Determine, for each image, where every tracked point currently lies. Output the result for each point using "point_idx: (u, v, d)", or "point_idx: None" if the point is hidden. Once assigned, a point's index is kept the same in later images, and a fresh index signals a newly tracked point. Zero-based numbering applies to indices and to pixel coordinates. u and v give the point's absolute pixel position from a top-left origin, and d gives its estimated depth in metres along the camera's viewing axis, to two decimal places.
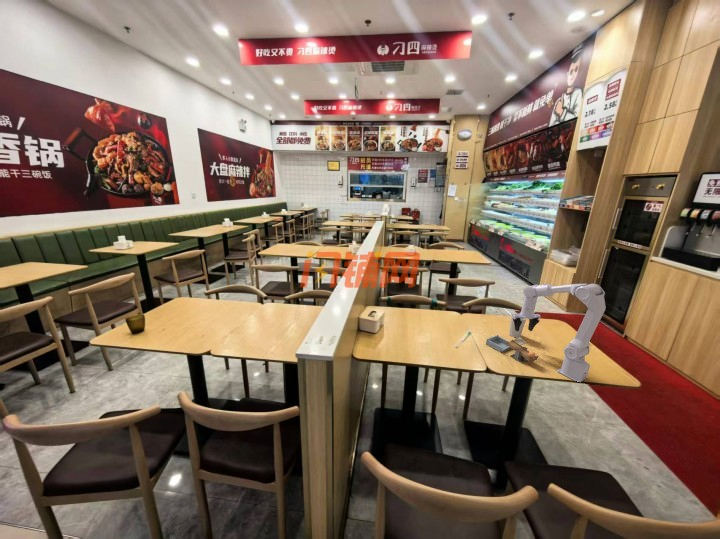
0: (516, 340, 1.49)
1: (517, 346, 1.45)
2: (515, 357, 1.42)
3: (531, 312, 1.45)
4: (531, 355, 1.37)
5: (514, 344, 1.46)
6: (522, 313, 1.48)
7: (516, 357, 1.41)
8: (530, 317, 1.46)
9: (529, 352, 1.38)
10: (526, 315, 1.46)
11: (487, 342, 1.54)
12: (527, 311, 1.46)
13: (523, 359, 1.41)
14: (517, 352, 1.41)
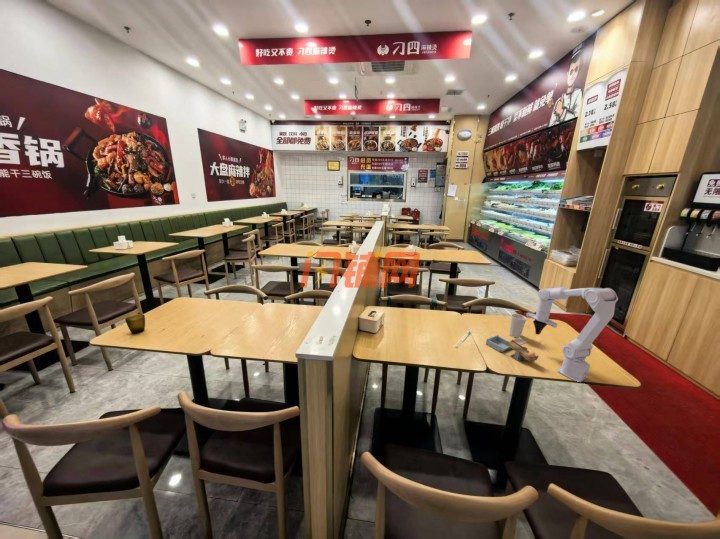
0: (516, 340, 1.49)
1: (517, 346, 1.45)
2: (515, 357, 1.42)
3: (540, 314, 1.44)
4: (531, 355, 1.37)
5: (514, 344, 1.46)
6: None
7: (516, 357, 1.41)
8: (538, 319, 1.45)
9: (529, 352, 1.38)
10: (536, 316, 1.46)
11: (487, 342, 1.54)
12: (537, 312, 1.46)
13: (523, 359, 1.41)
14: (517, 352, 1.41)
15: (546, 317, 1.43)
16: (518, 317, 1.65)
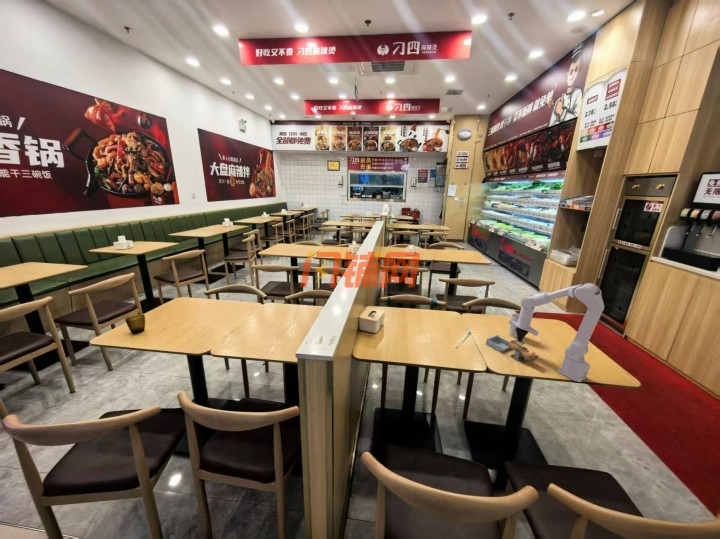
0: (516, 340, 1.49)
1: (517, 346, 1.45)
2: (515, 357, 1.42)
3: (521, 322, 1.45)
4: (531, 354, 1.37)
5: (514, 344, 1.46)
6: None
7: (516, 357, 1.41)
8: (520, 327, 1.46)
9: (529, 352, 1.38)
10: (518, 323, 1.47)
11: (487, 342, 1.54)
12: (519, 319, 1.46)
13: (523, 359, 1.41)
14: (517, 352, 1.41)
15: (527, 325, 1.44)
16: (518, 317, 1.65)
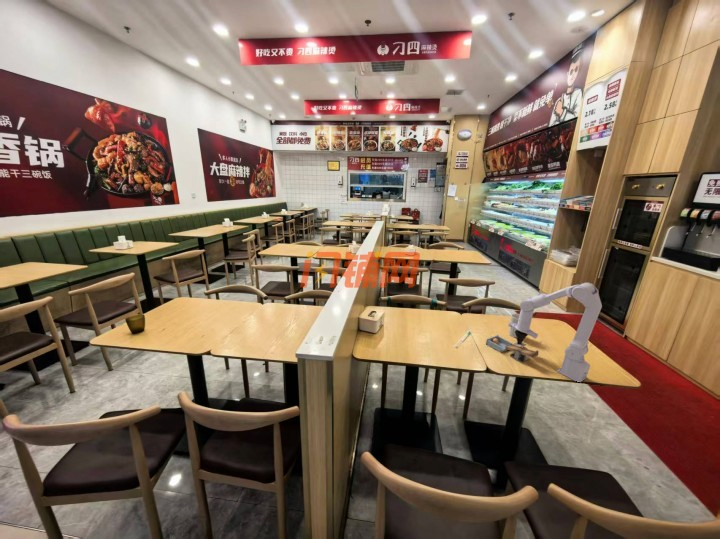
0: (515, 344, 1.50)
1: (516, 348, 1.45)
2: (515, 357, 1.42)
3: (521, 324, 1.45)
4: (494, 340, 1.54)
5: (513, 347, 1.46)
6: None
7: (516, 357, 1.41)
8: (519, 329, 1.46)
9: (492, 340, 1.56)
10: (517, 326, 1.48)
11: (487, 342, 1.54)
12: (518, 322, 1.47)
13: (523, 359, 1.41)
14: (517, 352, 1.41)
15: (527, 327, 1.44)
16: (518, 317, 1.65)
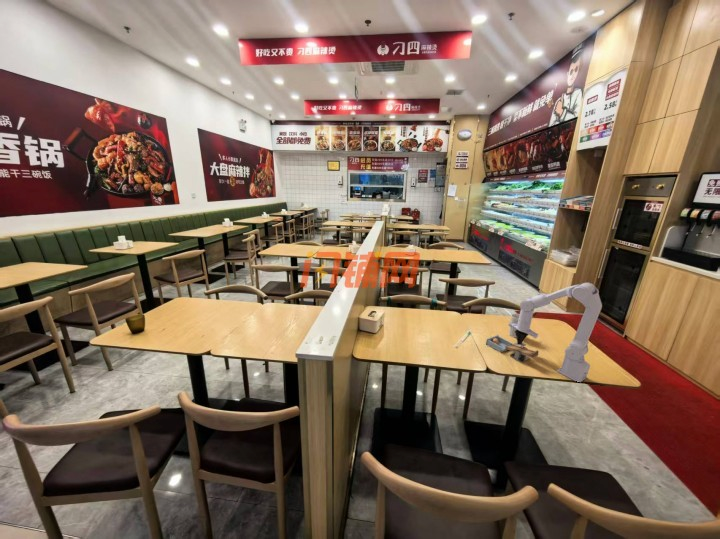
0: (515, 344, 1.50)
1: (516, 348, 1.45)
2: (515, 357, 1.42)
3: (521, 324, 1.45)
4: (494, 341, 1.54)
5: (513, 347, 1.46)
6: None
7: (516, 357, 1.41)
8: (520, 329, 1.46)
9: (492, 340, 1.56)
10: (517, 326, 1.48)
11: (487, 342, 1.54)
12: (518, 322, 1.47)
13: (523, 359, 1.41)
14: (517, 352, 1.41)
15: (527, 327, 1.44)
16: (518, 317, 1.65)
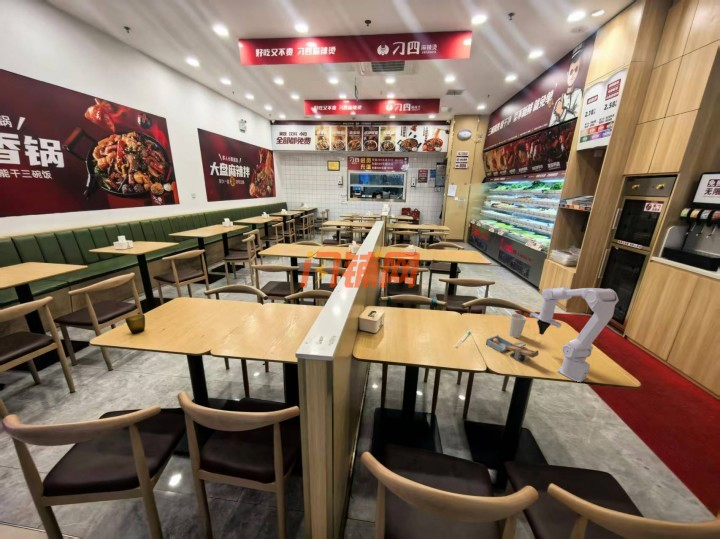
0: (515, 344, 1.50)
1: (516, 348, 1.45)
2: (515, 357, 1.42)
3: (543, 314, 1.44)
4: (494, 341, 1.54)
5: (513, 347, 1.46)
6: None
7: (516, 357, 1.41)
8: (542, 319, 1.45)
9: (492, 340, 1.56)
10: (540, 316, 1.47)
11: (487, 342, 1.54)
12: (541, 312, 1.46)
13: (523, 359, 1.41)
14: (517, 352, 1.41)
15: (550, 317, 1.43)
16: (518, 317, 1.65)
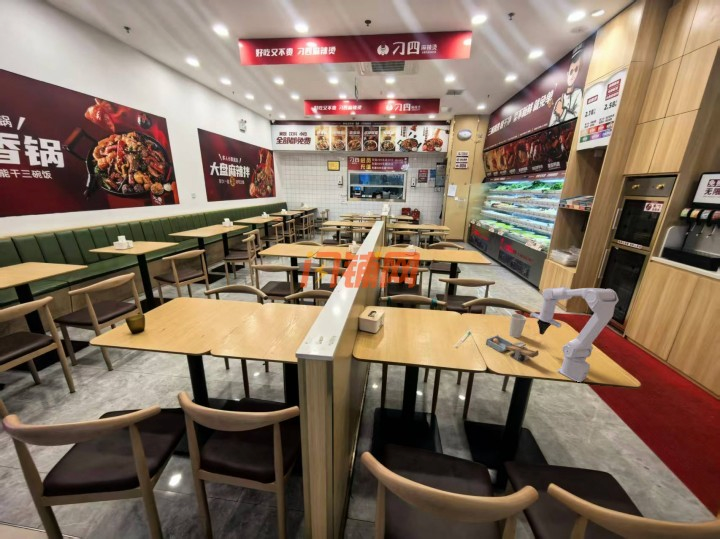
0: (515, 344, 1.50)
1: (516, 348, 1.45)
2: (515, 357, 1.42)
3: (544, 314, 1.44)
4: (494, 341, 1.54)
5: (513, 347, 1.46)
6: None
7: (516, 357, 1.41)
8: (542, 319, 1.45)
9: (492, 340, 1.56)
10: (540, 316, 1.47)
11: (487, 342, 1.54)
12: (541, 312, 1.46)
13: (523, 359, 1.41)
14: (517, 352, 1.41)
15: (550, 317, 1.43)
16: (518, 317, 1.65)
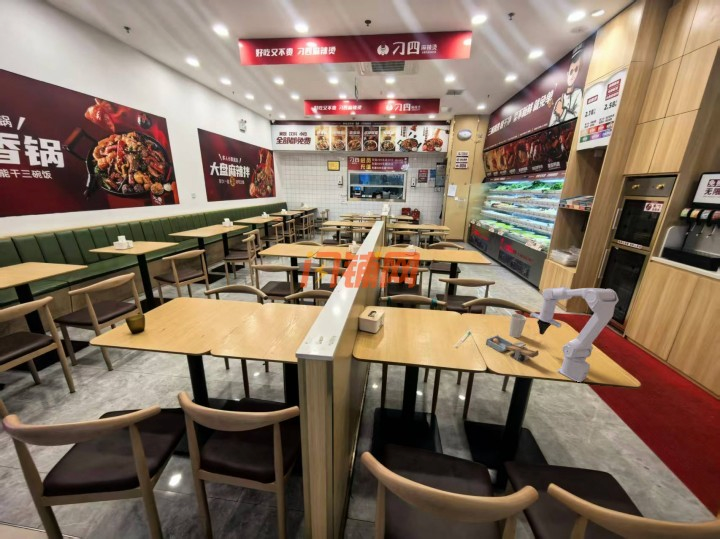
0: (515, 344, 1.50)
1: (516, 348, 1.45)
2: (515, 357, 1.42)
3: (544, 314, 1.44)
4: (494, 341, 1.54)
5: (513, 347, 1.46)
6: None
7: (516, 357, 1.41)
8: (542, 319, 1.45)
9: (492, 340, 1.56)
10: (540, 316, 1.47)
11: (487, 342, 1.54)
12: (541, 312, 1.46)
13: (523, 359, 1.41)
14: (517, 352, 1.41)
15: (550, 317, 1.43)
16: (518, 317, 1.65)
